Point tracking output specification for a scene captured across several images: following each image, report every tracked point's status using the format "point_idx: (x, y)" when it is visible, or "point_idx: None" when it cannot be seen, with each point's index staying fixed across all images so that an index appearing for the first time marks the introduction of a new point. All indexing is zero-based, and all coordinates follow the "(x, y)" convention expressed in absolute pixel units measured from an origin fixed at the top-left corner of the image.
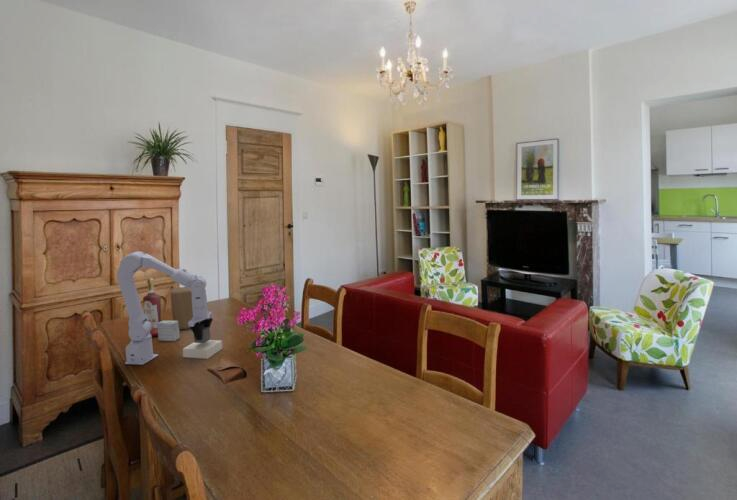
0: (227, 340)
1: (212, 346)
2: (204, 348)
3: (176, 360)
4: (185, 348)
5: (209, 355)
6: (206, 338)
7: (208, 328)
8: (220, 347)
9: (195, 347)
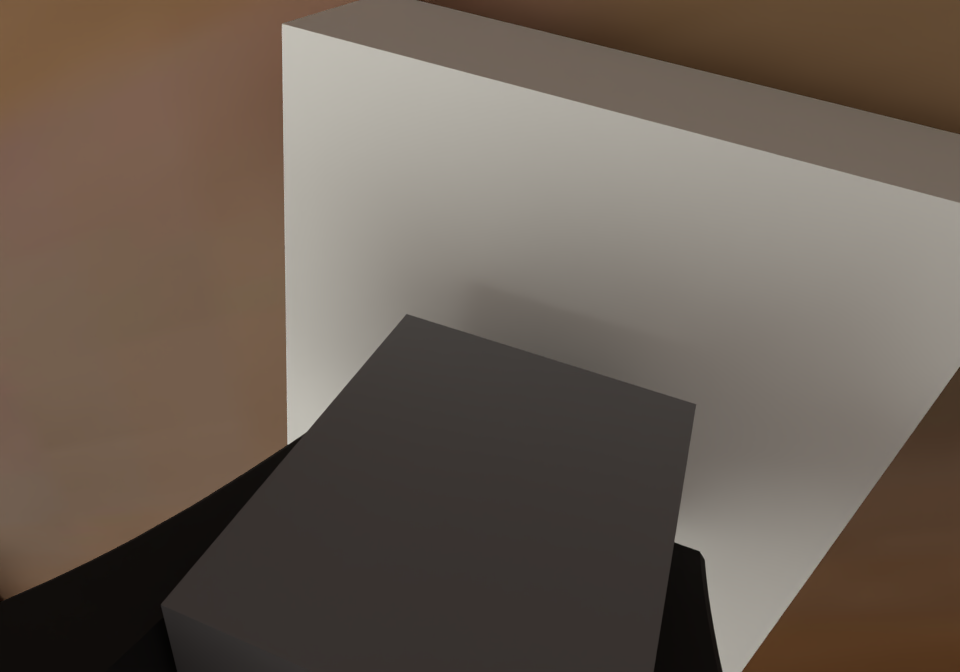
0: (29, 36)
1: (724, 150)
2: (846, 328)
3: (864, 619)
4: (728, 648)
5: (907, 133)
6: (560, 426)
7: (265, 596)
8: (425, 16)
9: (707, 511)
